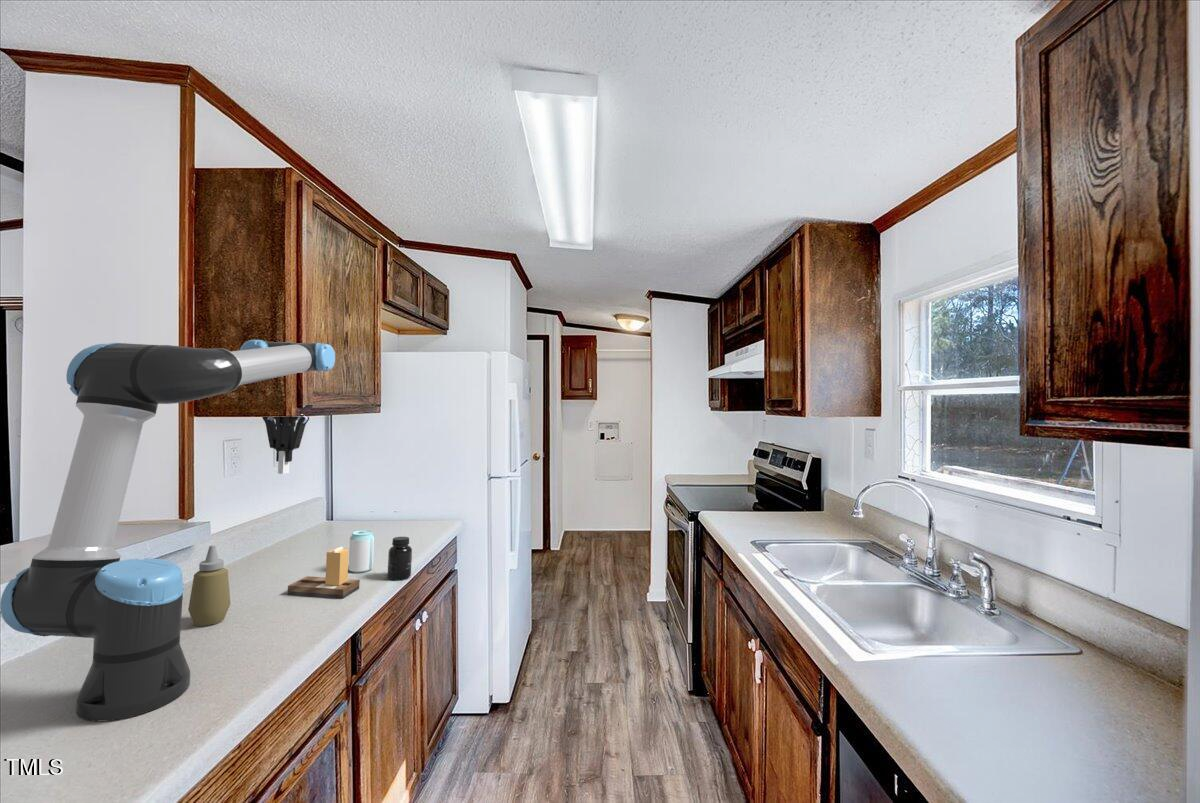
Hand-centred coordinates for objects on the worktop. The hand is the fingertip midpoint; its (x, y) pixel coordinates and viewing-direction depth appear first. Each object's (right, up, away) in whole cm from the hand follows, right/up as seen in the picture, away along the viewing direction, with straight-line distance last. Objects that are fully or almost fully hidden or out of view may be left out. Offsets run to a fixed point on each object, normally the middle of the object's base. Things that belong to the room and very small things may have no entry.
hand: (283, 473), depth 151 cm
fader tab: (+18, -32, -6) cm, 37 cm away
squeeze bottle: (-1, -32, -27) cm, 42 cm away
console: (+15, -33, -5) cm, 36 cm away
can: (+16, -33, +14) cm, 39 cm away
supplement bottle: (+30, -34, +9) cm, 46 cm away
